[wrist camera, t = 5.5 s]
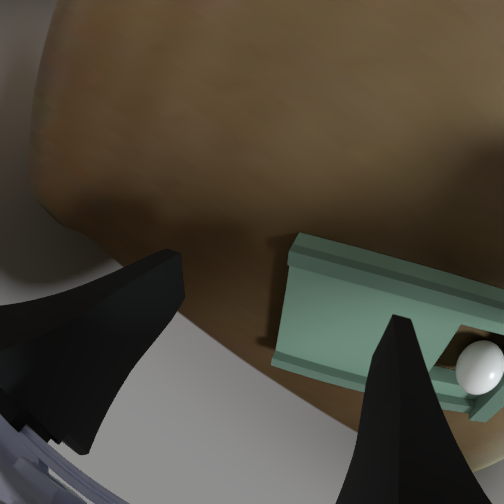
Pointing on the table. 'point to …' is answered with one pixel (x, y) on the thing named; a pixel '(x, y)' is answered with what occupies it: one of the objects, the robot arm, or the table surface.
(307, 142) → the table surface
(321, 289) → the green tray
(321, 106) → the table surface
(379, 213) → the table surface
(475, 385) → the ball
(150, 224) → the table surface
